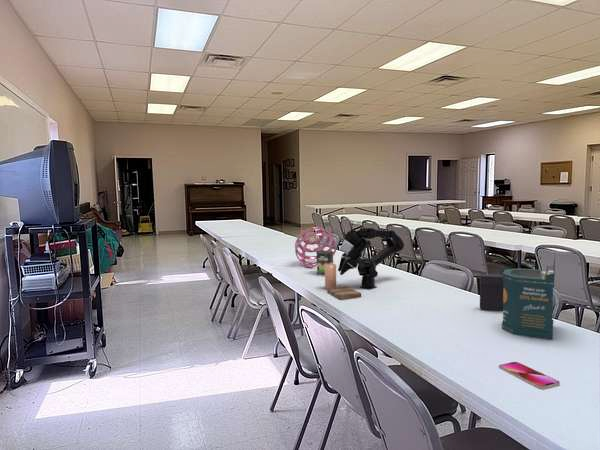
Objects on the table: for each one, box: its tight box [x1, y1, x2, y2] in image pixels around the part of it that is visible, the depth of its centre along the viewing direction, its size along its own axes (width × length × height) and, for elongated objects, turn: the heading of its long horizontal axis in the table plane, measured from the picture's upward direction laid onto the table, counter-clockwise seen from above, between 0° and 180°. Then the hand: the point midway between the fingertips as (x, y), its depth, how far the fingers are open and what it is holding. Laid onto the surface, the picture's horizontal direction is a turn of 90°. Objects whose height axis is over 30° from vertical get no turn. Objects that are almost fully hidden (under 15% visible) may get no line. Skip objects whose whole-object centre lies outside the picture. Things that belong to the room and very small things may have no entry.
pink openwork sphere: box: [294, 226, 338, 269], centre depth 277 cm, size 28×28×27 cm
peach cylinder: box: [324, 263, 338, 291], centre depth 218 cm, size 6×6×13 cm
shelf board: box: [326, 285, 362, 301], centre depth 206 cm, size 16×11×2 cm
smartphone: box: [498, 361, 561, 390], centre depth 117 cm, size 7×1×15 cm
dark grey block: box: [479, 273, 504, 313], centre depth 174 cm, size 11×4×15 cm, turn 71°
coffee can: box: [315, 250, 334, 277], centre depth 253 cm, size 10×10×14 cm
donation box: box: [501, 252, 556, 341], centre depth 150 cm, size 16×16×28 cm
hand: (339, 272), depth 215 cm, fingers open, 9 cm apart
